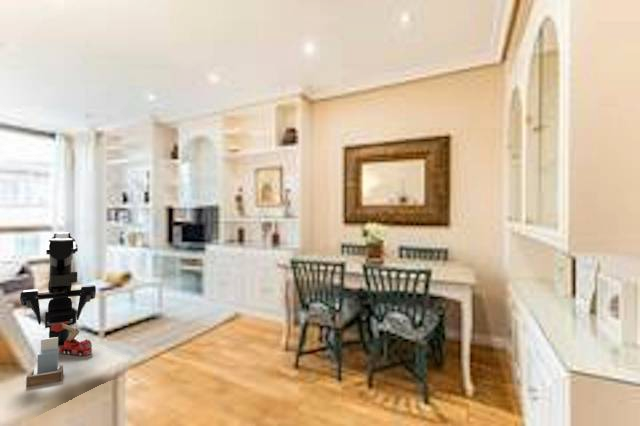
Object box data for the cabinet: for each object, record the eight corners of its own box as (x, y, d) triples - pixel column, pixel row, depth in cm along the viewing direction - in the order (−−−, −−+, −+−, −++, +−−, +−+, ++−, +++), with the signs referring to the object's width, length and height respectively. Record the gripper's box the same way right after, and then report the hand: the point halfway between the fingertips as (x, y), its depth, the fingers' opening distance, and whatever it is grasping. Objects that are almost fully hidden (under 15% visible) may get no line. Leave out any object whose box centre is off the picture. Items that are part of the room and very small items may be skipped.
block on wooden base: (39, 371, 106) (40, 339, 106) (58, 368, 108) (59, 336, 108) (37, 376, 103) (38, 343, 103) (56, 373, 105) (57, 341, 105)
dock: (33, 370, 107) (34, 361, 107) (65, 365, 110) (65, 357, 110) (26, 386, 97) (26, 377, 97) (61, 380, 101) (61, 371, 101)
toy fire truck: (85, 357, 117) (85, 327, 117) (49, 352, 120) (50, 323, 120) (93, 353, 120) (94, 324, 120) (59, 349, 123) (59, 320, 123)
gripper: (21, 264, 105) (16, 317, 98) (96, 261, 116) (97, 308, 108) (23, 280, 112) (19, 330, 105) (94, 275, 123) (95, 320, 116)
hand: (59, 321), depth 109 cm, fingers open, 9 cm apart
